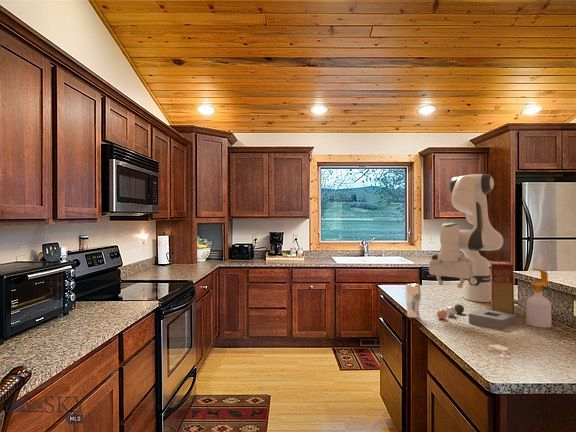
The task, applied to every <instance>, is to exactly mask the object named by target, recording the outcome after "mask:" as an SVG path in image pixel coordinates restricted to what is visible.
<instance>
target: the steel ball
mask: <svg viewBox="0 0 576 432" xmlns="http://www.w3.org/2000/svg"><path fill="white" fill-rule="evenodd" d="M445 311H446V312H447V317H448V316H449V317H454V316H455V315H456V310H455V309H454V307H453V306H448V307H446V309H445Z"/></svg>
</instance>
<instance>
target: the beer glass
mask: <svg viewBox="0 0 576 432" xmlns="http://www.w3.org/2000/svg"><path fill="white" fill-rule="evenodd" d="M421 290H422V288H421V284H418V283H406V284H405V302H406V307H407V311H406V317H408V318H410V319H421V315H420V314H421V313H420V306H421V299H422V291H421Z"/></svg>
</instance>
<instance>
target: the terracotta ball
mask: <svg viewBox="0 0 576 432" xmlns="http://www.w3.org/2000/svg"><path fill="white" fill-rule="evenodd" d="M436 316H437V318H438V319H440V320H446V319H447V317H448V315H447V312H446V309H442V308H441V309H438V310H437V312H436Z"/></svg>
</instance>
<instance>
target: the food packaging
mask: <svg viewBox="0 0 576 432" xmlns="http://www.w3.org/2000/svg"><path fill="white" fill-rule="evenodd" d="M490 275H491V302H490V305H491V310H492V311H498V312H504V313H510V314H515V293H514V292H515V290H514V287H515V286H514V265H513V264H512V262H510V261H496V260H494V261H492V260H491V261H490Z"/></svg>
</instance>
